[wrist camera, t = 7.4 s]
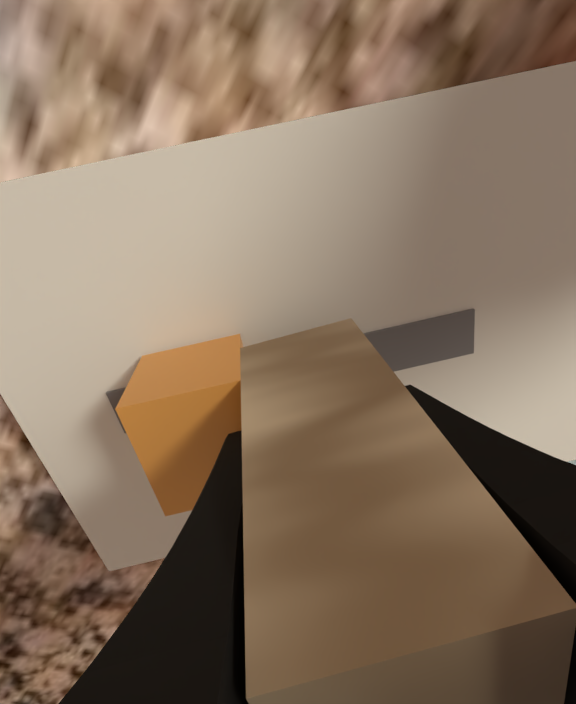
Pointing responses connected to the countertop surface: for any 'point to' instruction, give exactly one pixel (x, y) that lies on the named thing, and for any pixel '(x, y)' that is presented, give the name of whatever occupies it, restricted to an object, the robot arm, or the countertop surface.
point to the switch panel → (298, 273)
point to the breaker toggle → (183, 416)
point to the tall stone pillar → (379, 545)
